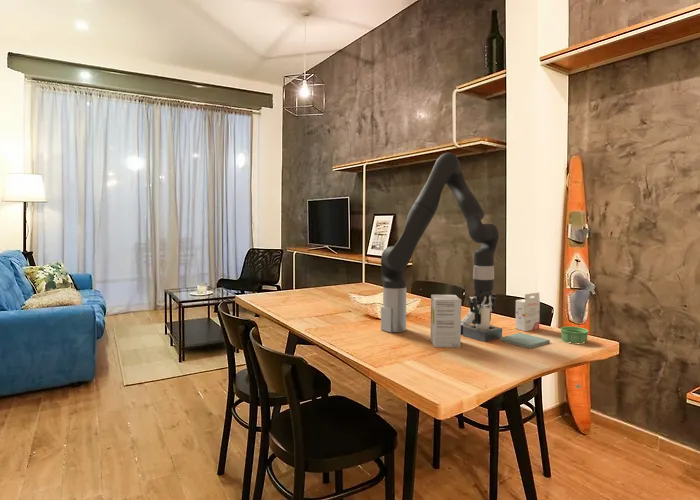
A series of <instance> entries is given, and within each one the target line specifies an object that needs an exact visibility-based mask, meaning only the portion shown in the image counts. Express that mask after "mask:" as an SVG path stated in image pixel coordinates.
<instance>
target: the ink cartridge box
mask: <svg viewBox="0 0 700 500" xmlns="http://www.w3.org/2000/svg"><path fill="white" fill-rule="evenodd" d="M540 305H541V300H540V293H539V292H534V293H533V292H532V293H525V294H524V299H516V300H515V329H516V330H520V331H523V332H529V331H533V330H538V329H540V311H541V310H540V309H541V306H540Z"/></svg>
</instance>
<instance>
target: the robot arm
mask: <svg viewBox="0 0 700 500" xmlns="http://www.w3.org/2000/svg"><path fill="white" fill-rule="evenodd" d="M445 185H446V186H447V187H448V188H449V189H450V191H451V193H452V195H453V196H454V198H455V201H456V203H457V206H458V207H459V209H460V211H461V214H462V216H463V217H464V219H465V221H466V226H467V231H468V235H469V236H470V239H471V240H472V241H473V242H474V243H477V244H481V245H480V248H478V249H475V250H474V253H473V270H472V271H473V272H472V290H473V291H474V294H473V296H469V297H468V304H469V309H470V311H471V312H473V313H474V314H475V323H474V324H481V311H482V308H483V307H489V308H490V321H492V320H491V319H492V318H491V317H492V316H491V315H492V312H493V311H495V310H496V306H497V305H496V304H497V300H498V294H496V293H493V291H494V290H495V266H494V265H495V261H494V259H495V252H496V250H497V249H496V248H497V245H498V240H499V230H498V227H497V226H496V225H495V224H493V223H483V222H482V220H483V219H484V217H485V211H484V210H483V209H482V206H481V204H480V203H479V201H478V199H477V198H476V196H475V195H474V193H473V192H472V190H471V189H470V187H468V185H467V183H466V179H465V177H464V174H463V171H462V166H461V163H460V161H459V159H458V156H457V155H456V154H454V153H452V152H444V153H442V154H440V155H439V157H438V158H437V159H436V161H435V163H434V165H433V167H432V170H431V171H430V174H429V176H428V178H427V179H426V181H425V184H424V186H423V187H422V189H421V190H420V193H419V194H418V195H417V198H416V199H415V201H414V202H413V204H412V206H411V207H410V209H409V212H408V214H407V216H406V218H405V219H406V220H405V222H404V227H403V230H402V233H401V235H400V236H399V238H398V240H397V242H396V243H395V244H394V245H390V246H388V247H386V248H384V249H383V251H382V252H381V253H382V254H381V257H380V268H381V269H380V271H381V272H380V273H381V275H380V276H381V281H382V305H381V306H380V330H382V331H385V332H388V333H402V332H405V331H407V280H406V277H405V274H404V270H405V268H406V267H407V266H408V265H409V263H410V260H411V259H412V256H413V254H414V252H415V249H416V247H417V245H418V243H419V241H420V240H421V238H422V236H423V235H424V233H425V232H426V229H427V228H428V226H429V224H430V223H431V221H432V219H433V218H434V216H435V214H436V212H437V210H438V207H439V203H440V201H441V196H442V193H443V189H444V187H445ZM473 307H474V309H473ZM477 308H479V310H478V309H477Z"/></svg>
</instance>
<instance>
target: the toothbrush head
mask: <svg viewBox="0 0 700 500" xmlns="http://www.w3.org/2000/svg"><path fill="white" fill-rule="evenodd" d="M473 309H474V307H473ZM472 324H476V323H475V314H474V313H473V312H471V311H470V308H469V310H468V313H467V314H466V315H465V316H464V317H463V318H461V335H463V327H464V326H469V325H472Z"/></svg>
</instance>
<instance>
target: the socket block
mask: <svg viewBox="0 0 700 500" xmlns="http://www.w3.org/2000/svg"><path fill="white" fill-rule="evenodd" d="M462 336H463V337H466V338H469V339H471V340H472V339H473V340H476V341H480V342H484V343H487V342H491V341H494V340H497V339H500V338H501V337H503V327H499V326H495V325H491V324H490V330H485V331H483V330H479V329H476V323H472V324H470V325H469V326H464V327H463V334H462Z"/></svg>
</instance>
